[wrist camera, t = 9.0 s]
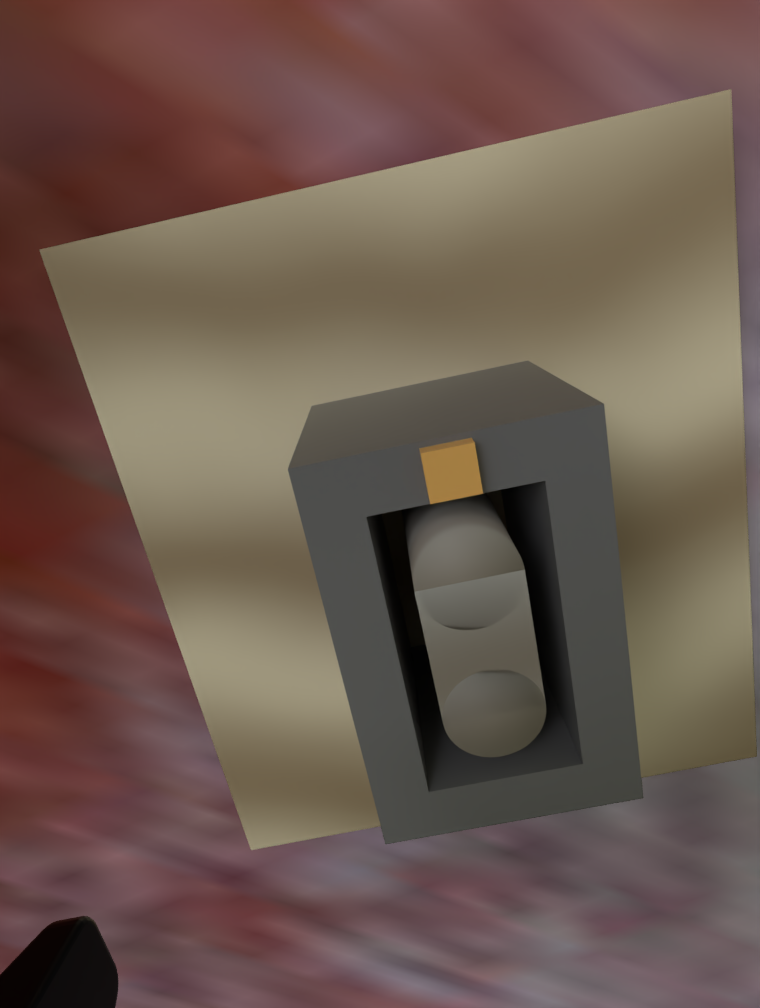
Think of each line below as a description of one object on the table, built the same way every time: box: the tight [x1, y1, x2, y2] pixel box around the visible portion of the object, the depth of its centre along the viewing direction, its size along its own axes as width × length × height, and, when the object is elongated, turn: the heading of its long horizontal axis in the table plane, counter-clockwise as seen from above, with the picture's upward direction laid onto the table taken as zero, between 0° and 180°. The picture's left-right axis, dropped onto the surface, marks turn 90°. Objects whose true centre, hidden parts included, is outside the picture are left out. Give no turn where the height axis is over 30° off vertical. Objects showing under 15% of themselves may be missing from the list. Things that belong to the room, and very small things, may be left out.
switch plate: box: [39, 89, 757, 850], centre depth 15 cm, size 16×14×6 cm
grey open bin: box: [288, 361, 643, 844], centre depth 14 cm, size 7×5×5 cm, turn 12°
